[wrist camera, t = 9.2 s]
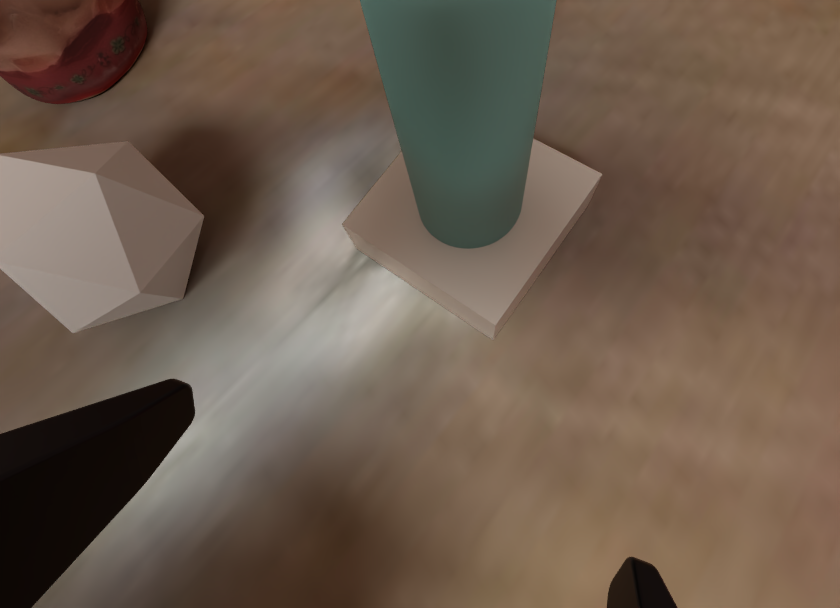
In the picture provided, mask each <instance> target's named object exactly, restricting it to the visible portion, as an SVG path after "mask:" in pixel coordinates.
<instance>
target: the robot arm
mask: <svg viewBox="0 0 840 608" xmlns="http://www.w3.org/2000/svg"><path fill="white" fill-rule="evenodd" d="M194 416H195V407H194V399H193V392H192V387H191V386H190V385H189V384H187V383H185V382H182V381H180V380H177V379H168V380H165V381H162V382H159V383H156V384H153V385H149V386H146V387H143V388H140V389H137V390H134V391H131V392H128V393H125V394H122V395H119V396H116V397H113V398H110V399H106V400H103V401H100V402H97V403H94V404H91V405H88V406H85V407H82V408H79V409H76V410H73V411H70V412H66V413H63V414H60V415H57V416H54V417H51V418H48V419H45V420H42V421H39V422H36V423H33V424H30V425H26V426H23V427H20V428H17V429H14V430H11V431H8V432H5V433H2V434H0V608H31V607H32V606H33V605H34V604H35V603H36V602H37V601H38V600H39V599H40V598H41V597H42V595H43V594H44V593H45V592H46V591H47V590H48V589H49V588H50V587H51V586H52V585H53V583H54V582H55V581H56V580H57V579H58V578H59V577H60V576H61V575H62V574H63V573H64V572H65V570H66V569H67V568H68V567H69V566H70V565H71V564H72V563H73V562H74V561H75V560H76V558H77V557H78V556H79V555H80V554H81V553H82V552H83V551H84V550H85V549H86V548H87V547H88V545H89V544H90V543H91V542H92V541H93V540H94V539H95V538H96V537H97V536H98V535H99V533H100V532H101V531H102V530H103V529H104V528H105V527H106V526H107V525H108V524H109V523H110V521H111V520H112V519H113V518H114V517H115V516H116V515H117V514H118V513H119V512H120V511H121V510H122V508H123V507H124V506H125V505H126V504H127V503H128V502H129V501H130V500H131V499H132V498H133V496H134V495H135V494H136V493H137V492H138V491H139V490H140V489H141V487H142V486H143V485H144V484H145V483H146V482H147V480H148V479H149V478H150V477H151V475H152V474H153V473H154V472H155V470H156V469H157V468H158V466H159V465H160V464H161V462H162V461H163V460H164V458H165V457H166V456H167V455H168V453H169V452H170V451H171V449H172V448H173V447H174V445H175V444H176V443H177V441H178V440H179V439H180V437H181V436H182V435H183V434H184V432H185V431H186V430H187V428H188V427H189V426H190V424H191V423H192V421H193V419H194ZM607 608H677V606H676V604H675V602H674V600H673V598H672V596H671V595H670V593H669V591H668V589H667V587H666V585H665V583H664V581H663V579H662V578H661V576H660V574H659V572H658V570H657V569H656V568H655V567H654V566H653V565H652V564H650V563H648V562H645V561H642V560H640V559H637V558H635V557H629V558H627V559H626V560H625V562H624V563H623V565H622V566H621V568H620V569H619V571H618V572H617V574H616V575H615V577H614V578H613V580H612V582H611V584H610V587H609V592H608V600H607Z"/></svg>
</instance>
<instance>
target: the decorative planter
mask: <svg viewBox="0 0 840 608" xmlns="http://www.w3.org/2000/svg"><path fill="white" fill-rule="evenodd" d="M146 37H147V24H146V20H145V16H144V12H143V9H142V7H141V5H140V3H139V1H138V0H0V76H1V77H2V78H4V79H5V80H6V81H7V82H8V83H9V84H11V85H12V86H13V87H14V88H16V89H17V90H19V91H20V92H21V93H23V94H25V95H26V96H28V97H31V98H33V99H35V100H38V101H41V102H45V103H52V104H65V103H71V102H76V101H81V100H85V99H89V98H91V97H94V96H96V95H98V94H100V93H102V92H104V91H105V90H107V89H108V88H109V87H111V86H112V85H113V84H114V83H115V82H117V81H118V80H119V79H120V78H121V77H122V76H123V75H124V74H125V73H126V72H127V71H128V70H129V69H130V68H131V66H132V65H133V64H134V62H135V61H136V59H137V57H138V56H139V54H140V52H141V51H142V49H143V47H144V44H145V40H146Z"/></svg>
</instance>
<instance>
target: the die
mask: <svg viewBox="0 0 840 608" xmlns="http://www.w3.org/2000/svg"><path fill="white" fill-rule="evenodd" d="M203 219H204V215H203V214H202V213H201V212H200V211H199V210H198V209H197V208H196V207H195V206H194V205H193V204H192V203H191V202H190V201H188V200H187V199H186V198H185V197H184V196H183V195H182V194H181V193H180V192H179V191H178V190H177V189H176V188H175V187H174V186H173V185H172V184H171V183H170V182H169V181H168V180H167V179H166V178H165V177H164V176H163V175H162V174H161V173H160V172H159V171H158V170H157V169H156V168H155V167H154V166H153V165H152V164H151V163H150V162H149V161H148V160H147V159H146V158H145V157H144V156H143V155H142V154H141V153H140V152H139V151H138V150H137V149H136V148H135V147H134V146H133V145H132V144H131V143H130V142H129V141H124V142H114V143H103V144H93V145H83V146H73V147H63V148H53V149H43V150H33V151H23V152H13V153H3V154H0V269H1V270H2V271H3V272H5V273H6V274H7V275H8V276H9V277H10V278H11V279H12V280H14V281H15V282H16V283H17V284H18V285H19V286H20V287H21V288H23V289H24V290H25V291H26V292H27V293H28V294H29V295H30V296H32V297H33V298H34V299H35V300H36V301H37V302H38V303H39V304H41V305H42V306H43V307H44V308H45V309H46V310H47V311H48V312H50V313H51V314H52V315H53V316H54V317H55V318H56V319H57V320H59V321H60V322H61V323H62V324H63V325H64V326H65V327H66V328H68V329H69V330H70V331H71V332H72V333H76V332H79V331H82V330H85V329H88V328H92V327H95V326H98V325H101V324H104V323H108V322H111V321H114V320H117V319H120V318H124V317H127V316H130V315H133V314H136V313H139V312H143V311H146V310H149V309H152V308H155V307H159V306H162V305H165V304H168V303H171V302H175V301H178V300H181V299H183V298H184V294H185V290H186V286H187V282H188V278H189V274H190V270H191V266H192V262H193V258H194V254H195V250H196V247H197V243H198V239H199V235H200V231H201V227H202V223H203Z"/></svg>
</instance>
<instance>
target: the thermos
mask: <svg viewBox="0 0 840 608" xmlns="http://www.w3.org/2000/svg"><path fill="white" fill-rule="evenodd" d="M360 2H361V6H362V9H363V13H364V17H365V20H366V24H367V27H368V31H369V35H370V38H371V42H372V46H373V49H374V53H375V56H376V60H377V64H378V67H379V71H380V74H381V78H382V82H383V85H384V89H385V92H386V96H387V100H388V103H389V107H390V110H391V114H392V118H393V121H394V125H395V128H396V132H397V136H398V139H399V143H400V147H401V150H402V154H403V157H404V161H405V165H406V168H407V172H408V175H409V179H410V183H411V186H412V190H413V193H414V197H415V201H416V204H417V208H418V211H419V215H420V218H421V221H422V223H423V225H424V226H425V228H426V229H427V230H428V232H429V233H430V234H431V235H432V236H434V237H435V238H436V239H437V240H439V241H441V242H442V243H445V244H447V245H449V246H453V247H457V248H465V249H471V248H479V247H484V246H487V245H490V244H492V243H494V242H496V241H498V240H499V239H501V238H502V237H504V236H505V235H506V234H507V233H508V232H509V231H510V230H511V229H512V228H513V226H514V225H515V223H516V222H517V220H518V218H519V215H520V212H521V208H522V202H523V196H524V190H525V185H526V179H527V173H528V167H529V161H530V155H531V149H532V143H533V137H534V131H535V125H536V119H537V113H538V107H539V101H540V95H541V89H542V83H543V78H544V72H545V66H546V60H547V54H548V48H549V42H550V36H551V30H552V24H553V18H554V12H555V6H556V0H360Z"/></svg>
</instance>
